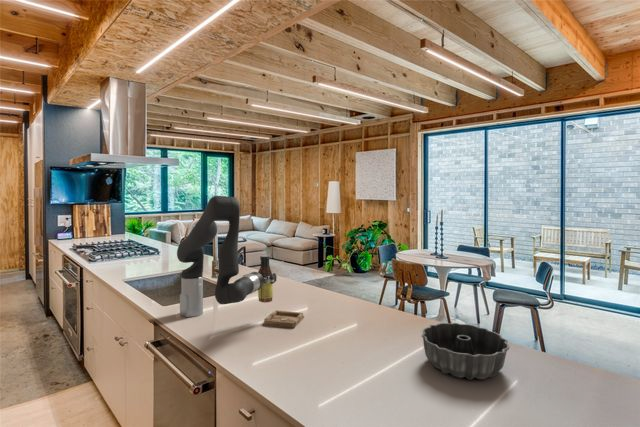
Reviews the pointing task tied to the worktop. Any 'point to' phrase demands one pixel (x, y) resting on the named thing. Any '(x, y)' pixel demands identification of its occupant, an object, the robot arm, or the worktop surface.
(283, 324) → the dock
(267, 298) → the sauce bottle
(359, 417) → the worktop surface
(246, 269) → the worktop surface
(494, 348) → the bundt pan
